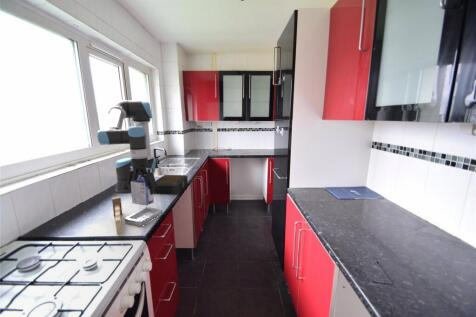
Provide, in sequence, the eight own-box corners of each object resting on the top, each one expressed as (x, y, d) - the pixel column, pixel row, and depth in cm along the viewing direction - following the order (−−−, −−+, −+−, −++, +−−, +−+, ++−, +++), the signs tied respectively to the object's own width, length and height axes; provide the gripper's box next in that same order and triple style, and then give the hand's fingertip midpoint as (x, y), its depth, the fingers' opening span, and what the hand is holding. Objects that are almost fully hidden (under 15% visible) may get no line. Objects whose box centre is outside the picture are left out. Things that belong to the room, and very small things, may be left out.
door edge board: (114, 214, 112) (112, 197, 110) (122, 213, 114) (120, 196, 112) (114, 235, 93) (112, 215, 91) (124, 232, 95) (122, 213, 93)
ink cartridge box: (154, 202, 108) (152, 176, 105) (146, 206, 103) (144, 178, 100) (140, 199, 111) (137, 174, 108) (131, 203, 106) (129, 176, 103)
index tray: (146, 210, 117) (146, 206, 117) (162, 213, 114) (162, 209, 113) (125, 223, 103) (124, 218, 103) (142, 226, 100) (141, 222, 100)
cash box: (178, 195, 142) (177, 184, 140) (150, 194, 143) (149, 184, 141) (189, 184, 166) (188, 175, 164) (165, 183, 167) (164, 174, 166)
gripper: (115, 157, 102) (120, 198, 106) (152, 160, 95) (155, 204, 99) (128, 154, 109) (131, 193, 113) (162, 157, 102) (165, 199, 106)
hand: (143, 198), depth 106 cm, fingers closed on ink cartridge box, 10 cm apart
